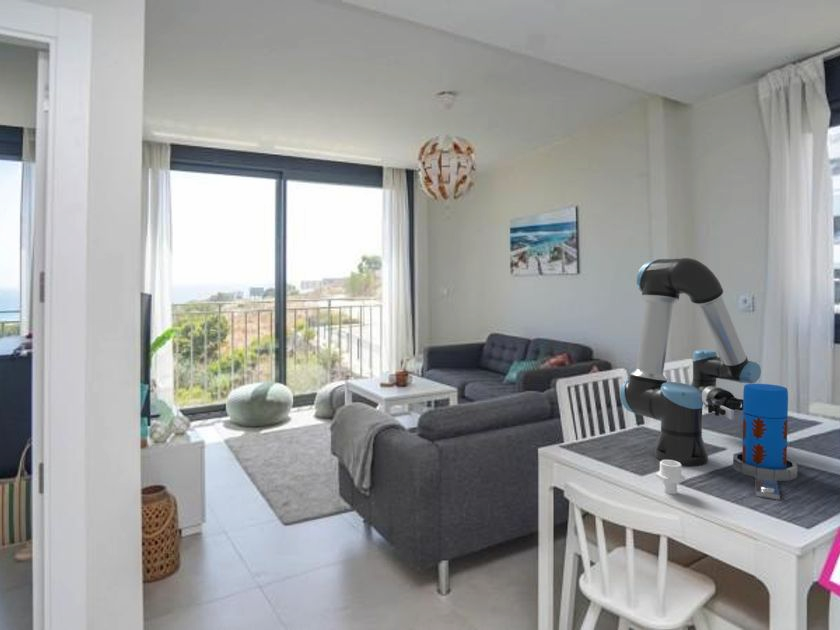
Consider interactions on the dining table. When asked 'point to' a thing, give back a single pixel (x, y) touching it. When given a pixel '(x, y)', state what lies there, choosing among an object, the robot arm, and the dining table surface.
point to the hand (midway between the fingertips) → (755, 415)
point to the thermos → (765, 425)
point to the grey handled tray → (766, 476)
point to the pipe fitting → (670, 475)
